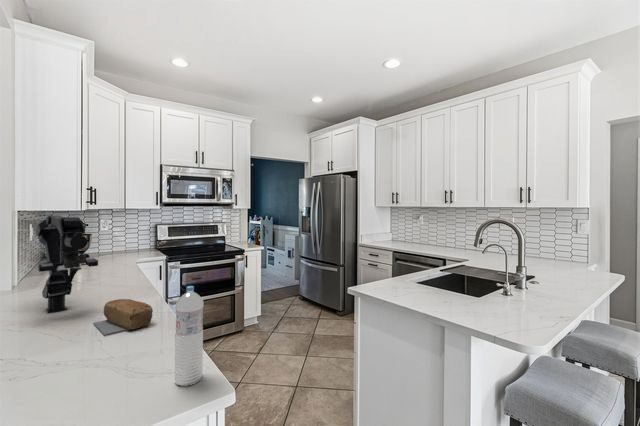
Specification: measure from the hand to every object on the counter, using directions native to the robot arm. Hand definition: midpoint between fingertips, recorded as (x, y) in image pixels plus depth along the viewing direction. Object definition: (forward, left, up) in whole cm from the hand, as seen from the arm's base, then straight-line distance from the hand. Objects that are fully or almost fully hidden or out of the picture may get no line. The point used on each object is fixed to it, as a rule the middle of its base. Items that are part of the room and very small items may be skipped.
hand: (68, 285), depth 125 cm
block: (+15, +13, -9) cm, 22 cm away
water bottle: (+81, +13, -13) cm, 83 cm away
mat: (+25, +12, -13) cm, 31 cm away
